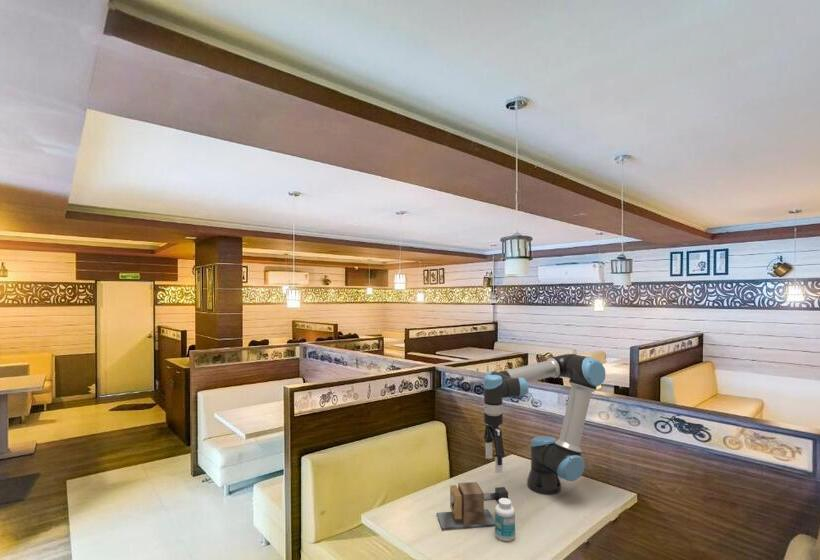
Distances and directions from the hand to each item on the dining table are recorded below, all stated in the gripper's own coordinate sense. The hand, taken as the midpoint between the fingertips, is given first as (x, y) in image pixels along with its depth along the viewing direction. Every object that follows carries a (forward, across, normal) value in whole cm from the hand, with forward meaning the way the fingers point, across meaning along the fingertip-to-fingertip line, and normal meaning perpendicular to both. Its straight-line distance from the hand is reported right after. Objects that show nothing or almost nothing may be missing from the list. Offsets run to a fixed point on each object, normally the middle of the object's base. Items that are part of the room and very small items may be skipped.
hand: (493, 465), depth 173 cm
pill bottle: (+21, +14, 0) cm, 25 cm away
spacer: (+18, +2, -17) cm, 24 cm away
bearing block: (+21, +2, -12) cm, 24 cm away
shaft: (+15, +2, -7) cm, 16 cm away
